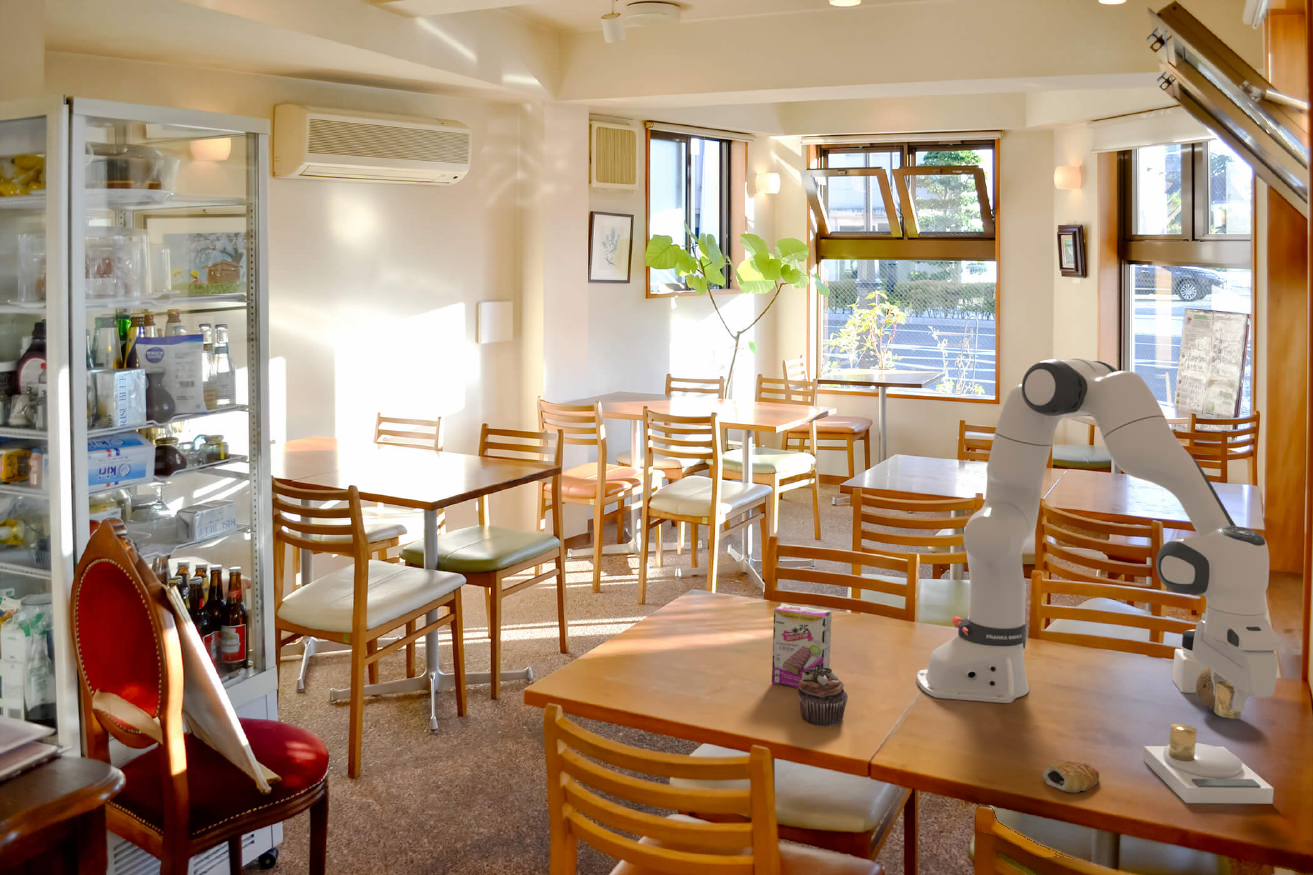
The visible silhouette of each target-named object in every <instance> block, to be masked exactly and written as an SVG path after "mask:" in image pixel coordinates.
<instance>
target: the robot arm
mask: <svg viewBox="0 0 1313 875" xmlns="http://www.w3.org/2000/svg"><path fill="white" fill-rule="evenodd" d="M1078 417H1092V418H1093V419H1094V421H1095V423H1096V425H1097V427H1098V429H1099V432H1100V434H1101V437H1102V440H1103V442H1104V444H1105V447H1106V450H1107V451H1108V454H1109V456H1110V458H1111V459H1112V461H1113V463H1114V464H1115V465H1116V466H1117V468H1118V469H1119V470H1120V471H1122V472H1123V473H1125V474H1127V475H1129V476H1131V477H1133V478H1135V479H1139V480H1142V481H1147V482H1148V483H1152V484H1155V485H1157V486H1159V487H1162V488H1164V489H1165V490H1166V491H1169V492H1170V493H1171V494H1172V495H1173V496H1174V497H1175V498H1176V499H1177V500H1178V502H1179V503H1180V505H1181V507H1182V508H1183V510H1184V512H1185V513H1186V515H1187V517H1188V519H1189V521H1190V522H1191V524H1192V526H1193V528H1194V529H1195V531H1196V533H1197V535H1196V536H1189V537H1188V536H1187V537H1181V538H1177V539H1172V540H1171V541H1167V542H1166V543H1164V544H1163V545H1162V546H1161V547H1160V549H1159V550H1158V553H1157V555H1156V560H1155V562H1156V563H1155V566H1156V567H1155V568H1156V573H1157V575H1158V578H1159V580H1160V582H1162V584H1163V585H1164V586H1165V587H1166V588H1167V589H1168V590H1170V591H1172V592H1174V593H1175V594H1176V593H1177V594H1184V595H1201V596H1204V597H1205V599H1206V603H1205V604H1206V606H1205V611H1204V612H1203V613H1202V614H1201V618H1200V620H1199V621H1198V622H1197V624H1196V625H1195V629H1194V630H1195V636H1194V642H1193V655H1194V658H1195V659H1197V660H1198V661H1199V662H1201V663H1202V664H1204V665H1205V666H1207V667H1208V668H1209V669H1211V673H1210V675H1211V679H1212V682H1213V686H1214V689H1213V695H1214V696H1216V687H1217V682H1220V681H1225V680H1227V681H1228V682H1229V683H1231V684H1232V685H1234V689H1233V690H1234V691H1235V694H1234V696H1233V698H1230V704H1229V706H1230V707H1231V708H1232V709H1233V710H1234V711H1241V712H1243V711H1245V707H1246V706H1245V705H1246V702H1247V700H1248V698H1253V699H1266V698H1267V699H1268V698H1271V697H1272V696H1273V694H1274V693H1275V691H1276V684H1277V676H1278V657H1277V654H1276V651H1280V650H1281V648H1282V647H1281V646H1282V645H1281V644H1282V640H1281V638H1280V636H1279V635H1278V634H1277V632H1275V630H1274V629H1273V627H1272V626H1271V624H1270V623H1269V620H1268V619H1267V618H1266V614H1267V608H1266V603H1265V596H1266V592H1267V589H1268V587H1269V579H1270V577H1269V576H1270V553H1269V552H1270V551H1269V548H1268V543H1267V540H1266V539H1265V537H1264V536H1263V535H1261V534H1260V533H1258V532H1257V531H1255V530H1252V529H1250V528H1247V527H1243V526H1237V524H1236V523H1235V522H1234V520H1233V518H1231V516H1230V514H1229V512H1228V511H1227V509H1226V507H1225V505H1224V504H1223V502H1222V500H1221V499H1220V497H1219V495H1218V493H1217V492H1216V490H1215V489H1214V487H1213V485H1212V483H1211V481H1210V480H1209V478H1208V477H1207V475H1206V473H1205V471H1204V470H1203V469H1202V467H1201V466H1200V463H1198V461H1197V460H1196V458H1195V457H1193V455H1192V454H1190V452H1188V451H1187V450H1186V449H1185V447H1183V445H1182V443H1181V442H1180V441H1179V439H1178V438H1177V437H1176V434H1174V431H1173V430H1172V429H1171V427H1170V424H1169V423H1168V420H1167V419H1166V416H1165V413H1164V411H1163V409H1162V408H1161V406H1160V404H1159V402H1158V400H1157V398H1156V397H1155V395H1154V393H1153V391H1152V390H1151V389H1150V387H1149V386H1148V384H1147V383H1146V382H1145V380H1144V379H1143V378H1142V377H1141V376H1140V375H1139V374H1138V373H1137V372H1133V371H1132V370H1131V371H1129V370H1119V371H1118V370H1117V369H1116V368H1115V367H1114V366H1112V365H1111V364H1108V363H1106V362H1103V361H1099V360H1090V359H1083V358H1071V359H1053V358H1052V359H1046V360H1041V361H1038V362H1037V363H1034V364H1033V365H1032V366H1030V367H1029V368H1028V369H1027V370H1026V372H1025V374H1024V375H1023V379H1022V383H1020V384H1017V385H1016V386H1014V387H1012V389H1010V391H1009V392H1008V396H1007V398H1006V399H1005V402H1004V403H1003V406H1002V408H1001V412H1000V415H999V418H998V421H997V424H996V428H995V431H994V436H993V440H992V444H991V449H990V453H989V456H988V457H989V458H988V461H987V465H986V475H987V477H986V478H987V479H986V480H987V481H986V491H985V492H986V493H985V500H984V503H983V505H982V507H981V508H980V509H979V510H977V511H976V512H975V513H973V514H972V515H971V516H970V517H969V519H968V520H967V522H966V524H965V528H964V530H963V536H962V538H963V539H962V541H963V545H964V547H965V550H966V559H967V566H968V574H969V598H968V599H969V604H968V616H967V617H966V618H964V619H962V618H961V617H960V616H959V615H956V616H955V615H954V616H953V618H951V623H952V625H953V626H954V627H955V628H957V629H958V630H957V633H958V634H957V635H955V636H953V637H952V638H951V639H950V640H948V641H946V642H945V643H943V644H942V645H940V646H938V647H937V648H935V649H933V651H932V653H931V655H930V658H929V660H928V661H929V662H928V666H927V668H926V669H920V670H918V672H917V674H916V682H917V685H918V686H919V687H920V689H921V690H922V691H924V693H926V694H928V695H930V696H932V697H933V698H937V699H951V700H963V701H973V702H975V701H976V702H977V701H978V702H986V703H987V702H989V703H998V704H999V703H1001V704H1003V703H1004V704H1011V703H1013V701H1015V699H1017V698H1020V697H1023V696H1026V695H1027V694H1028V693H1029V691H1030V686H1029V684H1028V679H1027V673H1026V666H1025V649H1026V644H1027V637H1028V635H1027V634H1028V633H1027V632H1028V631H1027V622H1025V617H1026V600H1027V584H1026V581H1025V577H1024V576H1025V575H1024V565H1023V551H1024V547H1025V546H1026V545H1027V544H1028V543H1029V542H1030V541H1031V540H1032V539H1033V537H1034V535H1035V532H1036V530H1037V523H1038V519H1039V512H1040V507H1041V498H1042V490H1043V482H1044V478H1045V474H1046V471H1047V470H1046V468H1047V465H1048V462H1049V458H1050V454H1051V449H1052V446H1053V441H1054V437H1055V432H1056V429H1057V426H1058V425H1059V422H1060V421H1061V420H1062V419H1063V418H1078Z"/></svg>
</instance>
